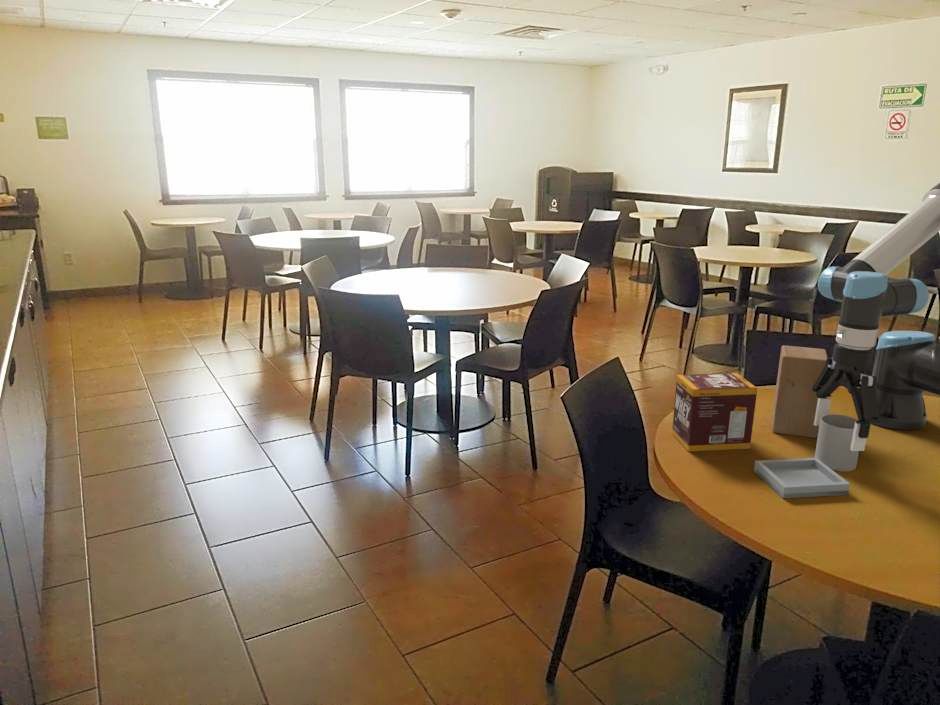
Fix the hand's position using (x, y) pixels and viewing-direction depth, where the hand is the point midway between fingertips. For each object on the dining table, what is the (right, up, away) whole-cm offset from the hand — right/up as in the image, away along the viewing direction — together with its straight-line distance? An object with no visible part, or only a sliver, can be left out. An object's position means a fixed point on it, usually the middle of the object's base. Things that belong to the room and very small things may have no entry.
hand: (837, 437), depth 152 cm
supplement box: (-24, -3, +13) cm, 27 cm away
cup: (0, -6, +2) cm, 7 cm away
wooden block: (0, 0, +20) cm, 20 cm away
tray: (-12, -9, -7) cm, 16 cm away
